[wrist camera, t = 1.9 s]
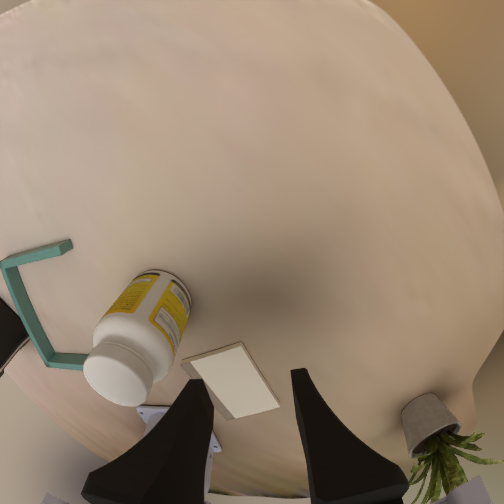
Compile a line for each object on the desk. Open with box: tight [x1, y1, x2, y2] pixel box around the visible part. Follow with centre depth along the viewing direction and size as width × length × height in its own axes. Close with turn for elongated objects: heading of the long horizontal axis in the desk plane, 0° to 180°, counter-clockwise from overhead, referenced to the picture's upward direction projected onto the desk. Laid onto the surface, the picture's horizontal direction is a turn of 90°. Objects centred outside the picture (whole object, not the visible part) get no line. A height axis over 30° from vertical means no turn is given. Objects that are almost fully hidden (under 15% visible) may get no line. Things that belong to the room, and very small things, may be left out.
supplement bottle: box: [83, 270, 191, 407], centre depth 17 cm, size 5×5×10 cm
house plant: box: [401, 393, 504, 504], centre depth 19 cm, size 14×14×16 cm
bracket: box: [0, 239, 89, 371], centre depth 22 cm, size 13×10×2 cm
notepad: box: [181, 342, 280, 420], centre depth 25 cm, size 9×6×1 cm, turn 24°
